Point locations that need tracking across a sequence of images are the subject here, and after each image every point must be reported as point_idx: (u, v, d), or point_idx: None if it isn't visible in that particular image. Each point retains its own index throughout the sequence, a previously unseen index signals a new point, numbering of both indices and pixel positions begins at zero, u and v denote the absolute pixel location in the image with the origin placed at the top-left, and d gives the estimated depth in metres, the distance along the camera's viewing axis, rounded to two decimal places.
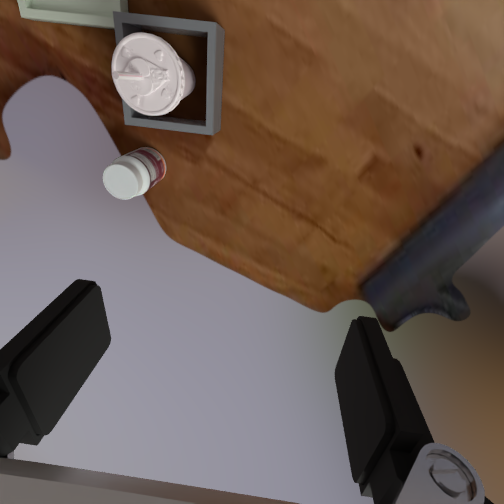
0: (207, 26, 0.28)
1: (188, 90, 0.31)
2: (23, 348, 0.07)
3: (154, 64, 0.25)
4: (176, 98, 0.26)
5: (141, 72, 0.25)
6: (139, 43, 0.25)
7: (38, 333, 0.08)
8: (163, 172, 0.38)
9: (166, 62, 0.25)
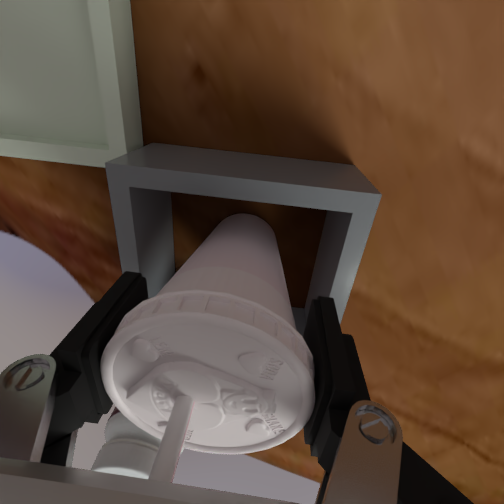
0: (354, 201, 0.10)
1: None
2: (91, 332, 0.08)
3: (236, 380, 0.08)
4: (289, 437, 0.09)
5: (192, 395, 0.08)
6: (191, 334, 0.07)
7: (101, 319, 0.09)
8: None
9: (273, 376, 0.08)
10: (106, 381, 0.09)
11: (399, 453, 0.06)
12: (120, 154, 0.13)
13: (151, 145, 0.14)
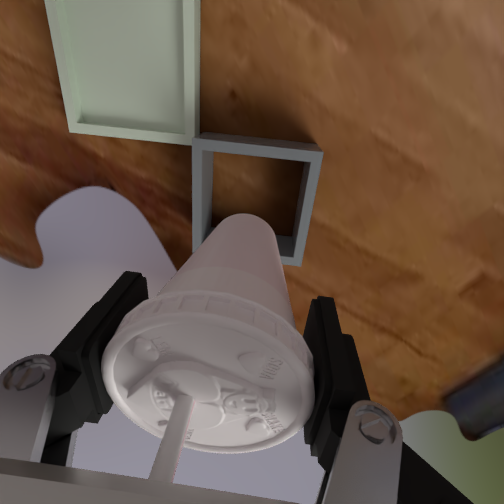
0: (311, 156, 0.22)
1: None
2: (92, 332, 0.08)
3: (236, 379, 0.08)
4: (289, 437, 0.09)
5: (193, 395, 0.08)
6: (191, 334, 0.07)
7: (102, 319, 0.09)
8: None
9: (274, 376, 0.08)
10: (107, 381, 0.09)
11: (399, 454, 0.06)
12: (191, 137, 0.25)
13: (205, 132, 0.25)
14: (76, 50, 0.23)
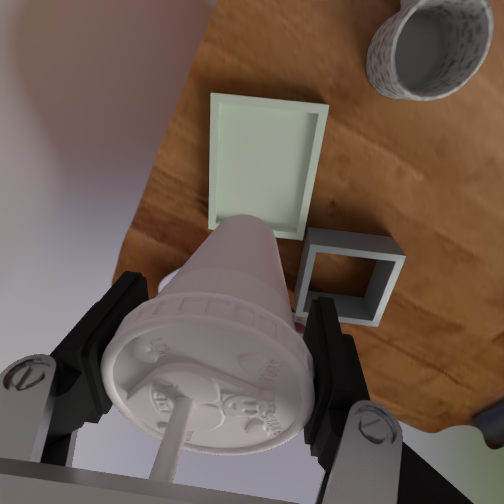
0: (397, 258, 0.31)
1: None
2: (91, 332, 0.08)
3: (235, 382, 0.08)
4: (289, 438, 0.09)
5: (192, 396, 0.08)
6: (191, 336, 0.07)
7: (101, 318, 0.09)
8: None
9: (273, 378, 0.08)
10: (107, 382, 0.09)
11: (399, 454, 0.06)
12: (301, 234, 0.33)
13: (309, 229, 0.34)
14: (222, 175, 0.32)
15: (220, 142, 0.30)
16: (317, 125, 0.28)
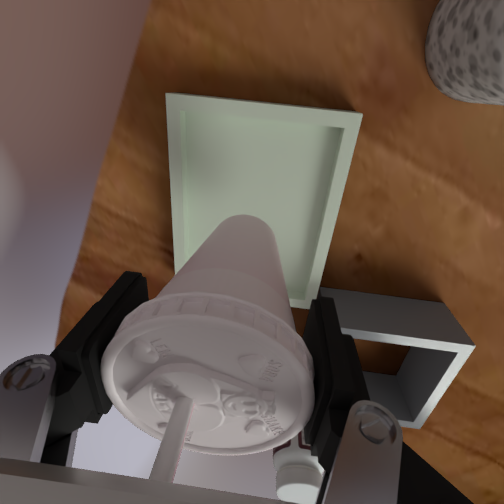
0: (460, 348, 0.20)
1: None
2: (91, 332, 0.08)
3: (235, 382, 0.08)
4: (289, 439, 0.09)
5: (192, 397, 0.08)
6: (191, 336, 0.07)
7: (101, 318, 0.09)
8: None
9: (273, 378, 0.08)
10: (106, 383, 0.09)
11: (398, 453, 0.06)
12: None
13: (323, 292, 0.23)
14: (193, 218, 0.21)
15: (187, 170, 0.19)
16: (341, 146, 0.17)
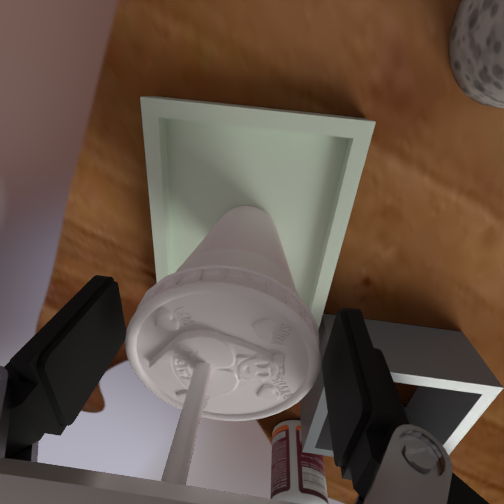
0: (485, 389, 0.17)
1: None
2: (49, 340, 0.08)
3: (250, 346, 0.09)
4: (297, 401, 0.10)
5: (210, 361, 0.09)
6: (210, 303, 0.08)
7: (63, 326, 0.08)
8: None
9: (283, 342, 0.09)
10: (130, 352, 0.09)
11: (446, 488, 0.06)
12: None
13: (326, 320, 0.21)
14: (178, 239, 0.18)
15: (170, 185, 0.17)
16: (349, 160, 0.14)
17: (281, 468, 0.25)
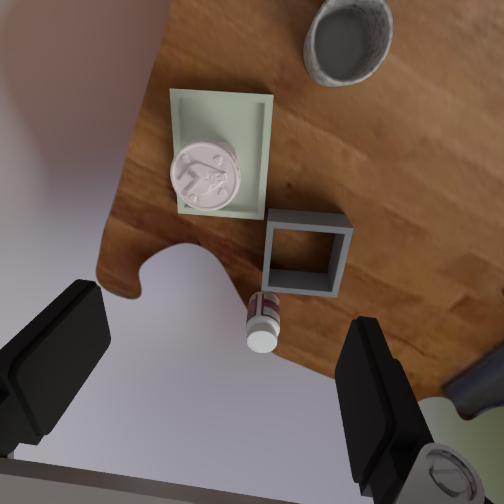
0: (345, 230, 0.34)
1: None
2: (23, 348, 0.07)
3: (213, 168, 0.26)
4: (233, 196, 0.27)
5: (200, 175, 0.26)
6: (199, 150, 0.25)
7: (38, 333, 0.08)
8: None
9: (224, 166, 0.26)
10: (172, 176, 0.26)
11: None
12: (261, 214, 0.37)
13: (270, 210, 0.37)
14: None
15: (182, 133, 0.34)
16: (265, 113, 0.31)
17: (252, 310, 0.41)
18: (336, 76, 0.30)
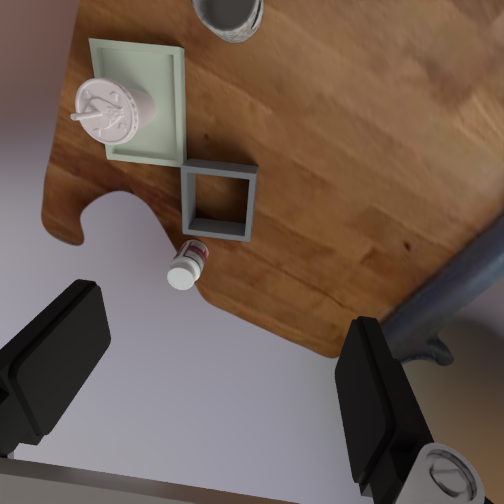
0: (249, 176, 0.38)
1: (147, 119, 0.36)
2: (23, 348, 0.07)
3: (111, 103, 0.30)
4: (131, 130, 0.31)
5: (100, 110, 0.30)
6: (97, 86, 0.29)
7: (38, 333, 0.08)
8: (206, 258, 0.49)
9: (120, 101, 0.30)
10: (77, 110, 0.30)
11: None
12: (180, 162, 0.41)
13: (190, 159, 0.41)
14: None
15: None
16: (174, 64, 0.35)
17: (177, 253, 0.45)
18: None
